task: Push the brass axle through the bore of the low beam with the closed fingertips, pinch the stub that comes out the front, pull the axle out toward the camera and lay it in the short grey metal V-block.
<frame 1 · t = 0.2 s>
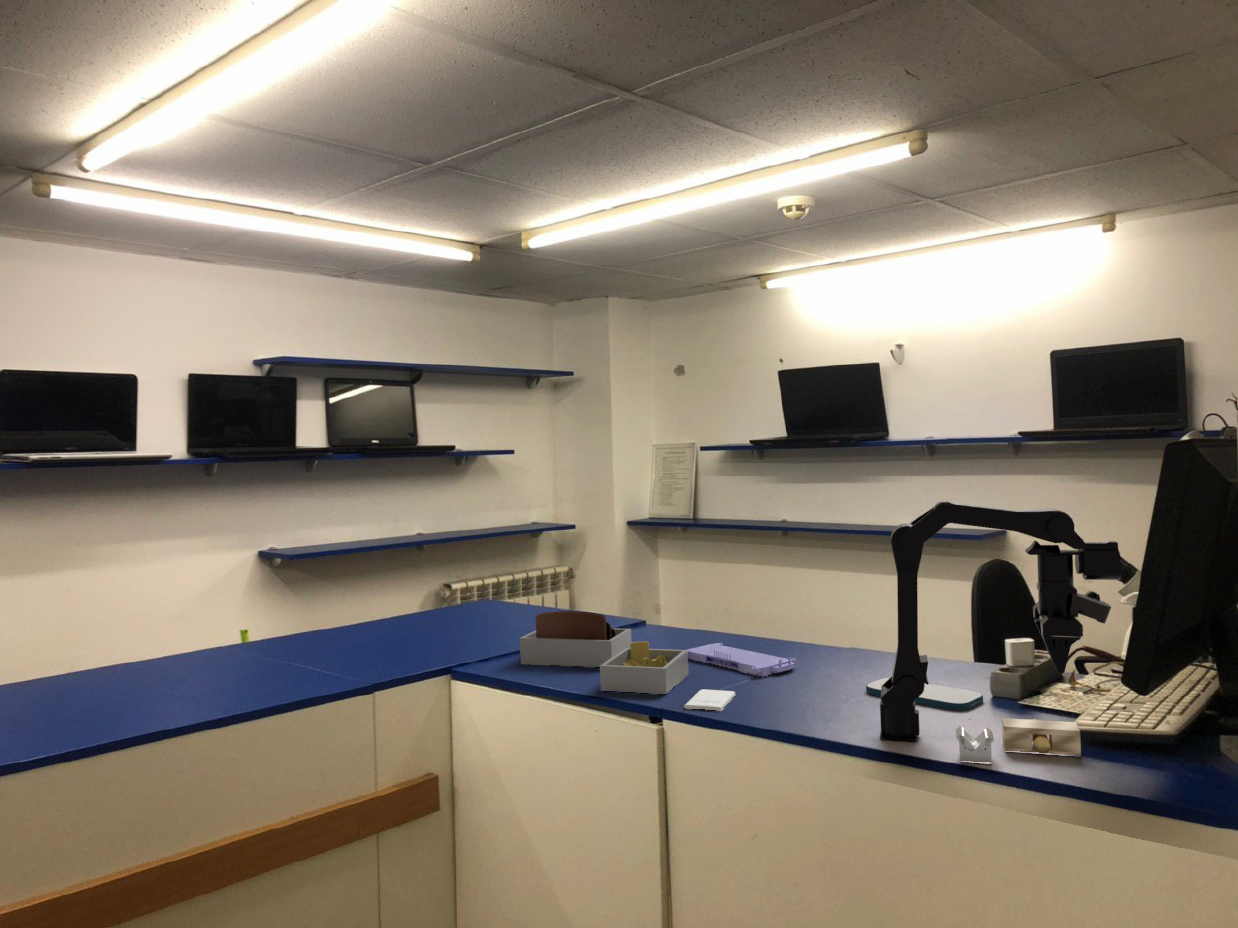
hand: (1057, 666, 160), 14 cm above the table, tool pointing down, fingers open, 9 cm apart
holder tray: (577, 659, 242), on the table
computer part: (739, 666, 229), on the table
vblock: (975, 759, 154), on the table
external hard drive: (923, 700, 193), on the table
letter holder: (577, 660, 241), resting in holder tray
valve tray: (645, 682, 214), on the table
beam: (1040, 750, 157), on the table
external hard drive 2: (710, 705, 195), on the table
ball valve: (648, 684, 214), resting in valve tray
axle: (1039, 735, 159), point 2 cm above the table, touching beam
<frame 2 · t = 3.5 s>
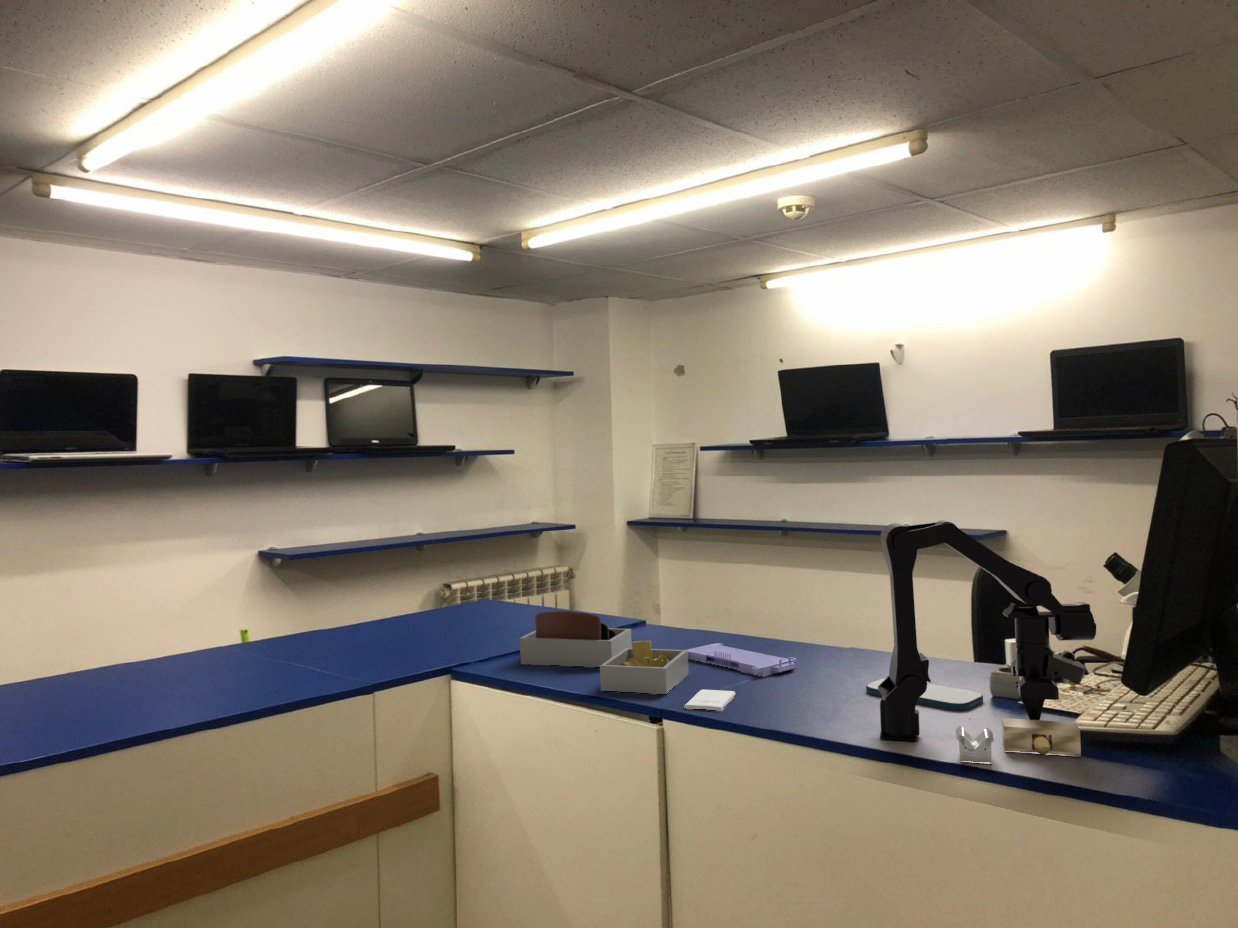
hand: (1035, 725, 165), 2 cm above the table, tool pointing down, fingers closed
axle: (1038, 736, 158), point 2 cm above the table, touching beam, gripper
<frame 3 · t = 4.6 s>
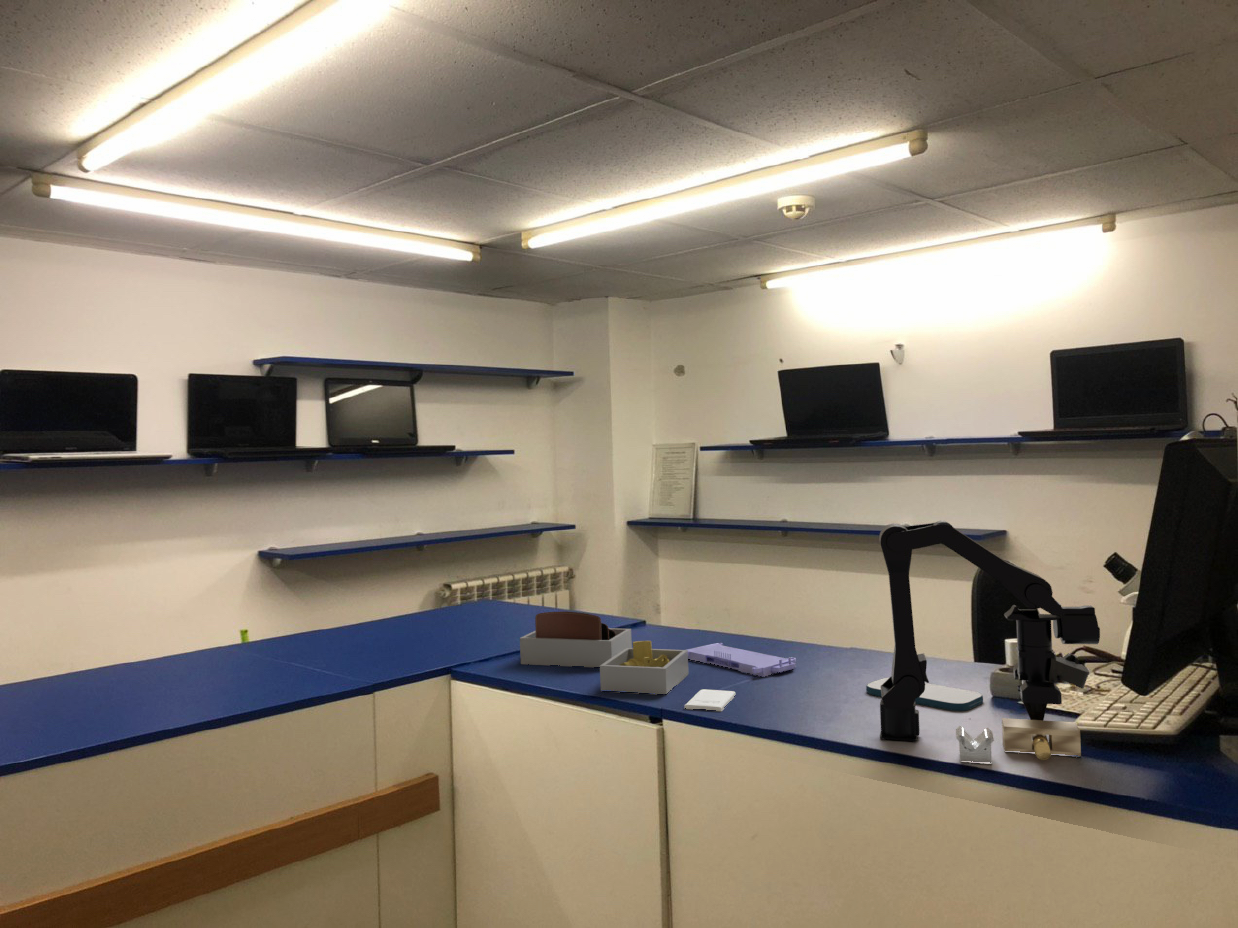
hand: (1038, 729, 162), 2 cm above the table, tool pointing down, fingers closed
axle: (1040, 742, 156), point 2 cm above the table, touching beam, gripper
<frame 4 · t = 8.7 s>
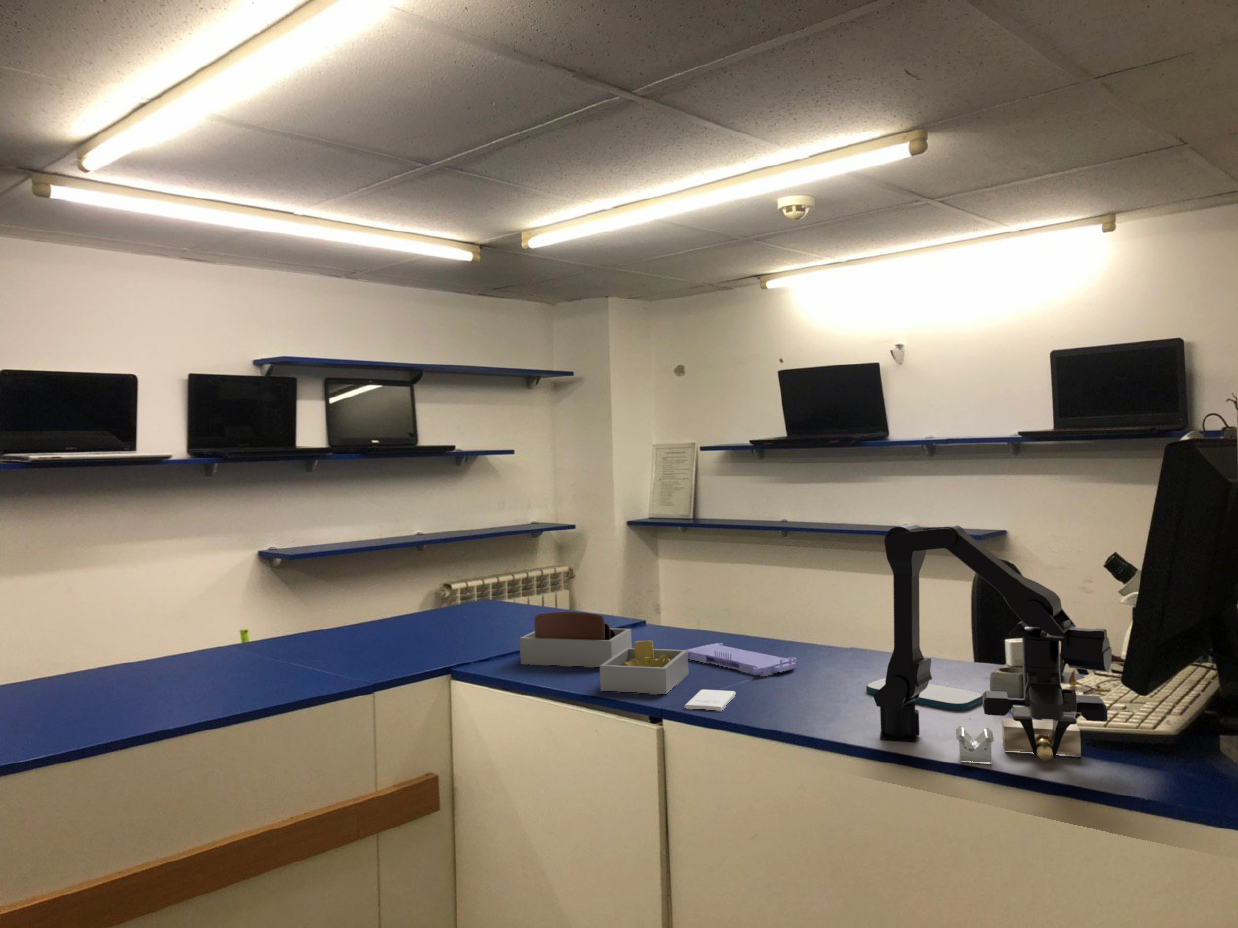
hand: (1044, 756, 151), 1 cm above the table, tool pointing down, fingers closed on axle, 2 cm apart
axle: (1042, 742, 155), point 2 cm above the table, tilted 12°, touching beam, gripper
when the fingers open (5 cm above the table, at t = 14.3 s): axle drops 1 cm, resting on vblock.
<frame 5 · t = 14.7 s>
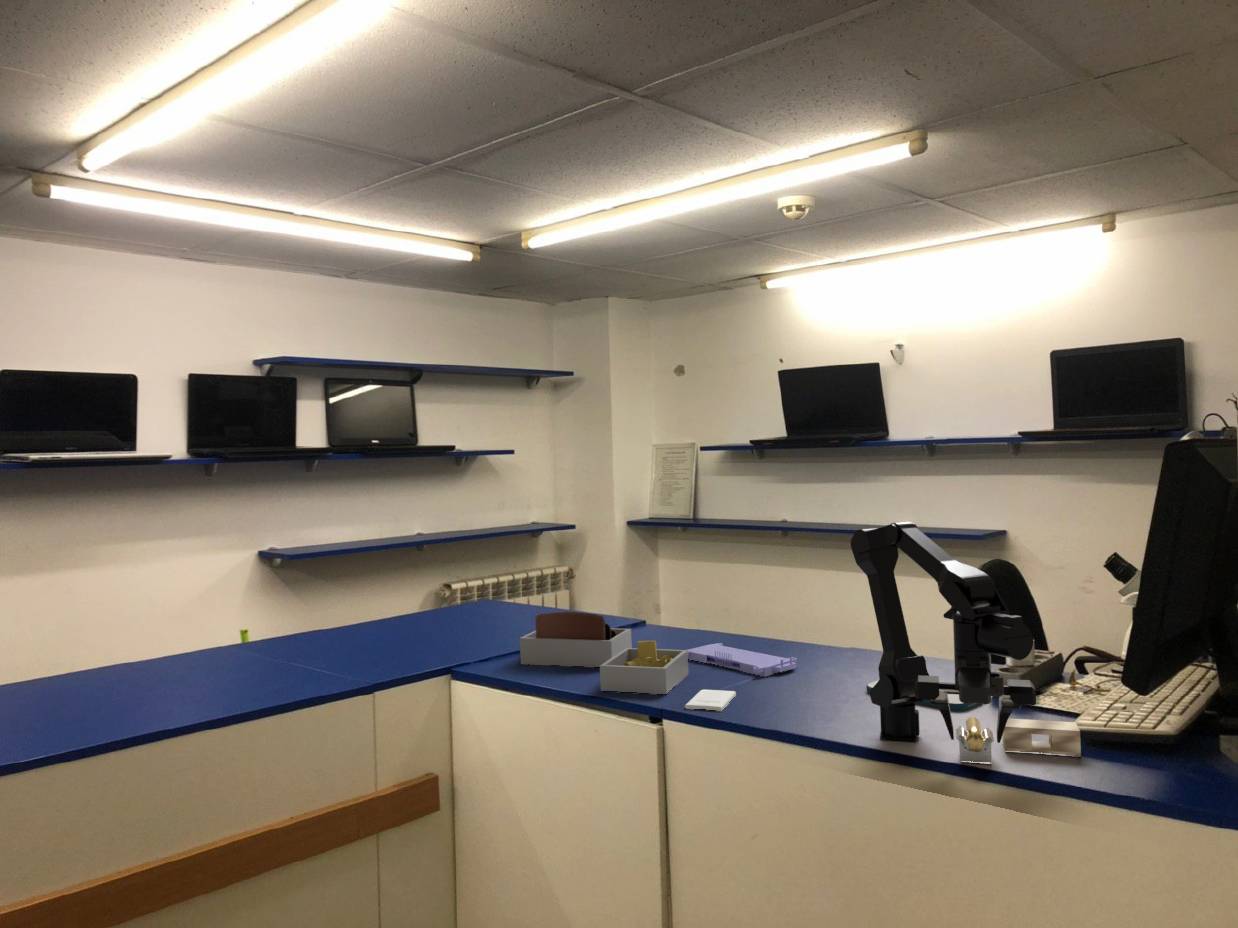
hand: (975, 740, 150), 5 cm above the table, tool pointing down, fingers open, 7 cm apart
axle: (974, 734, 154), point 4 cm above the table, tilted 10°, touching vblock
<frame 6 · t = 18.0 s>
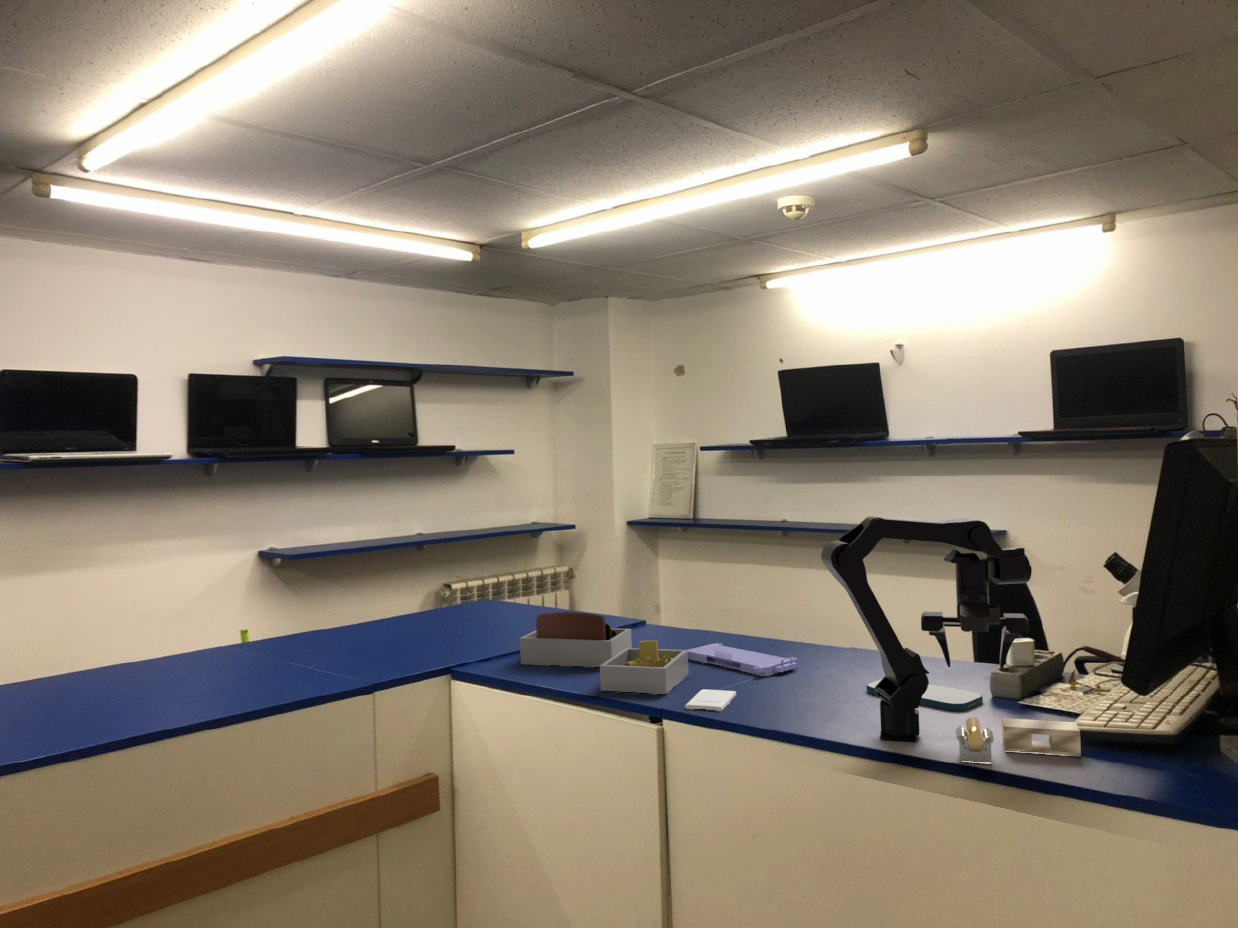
hand: (975, 667, 169), 12 cm above the table, tool pointing down, fingers open, 9 cm apart
at the end: axle 0.1 cm off-centre on the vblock, point 4.3 cm above the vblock's base; axle touching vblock; the gripper is holding nothing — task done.
